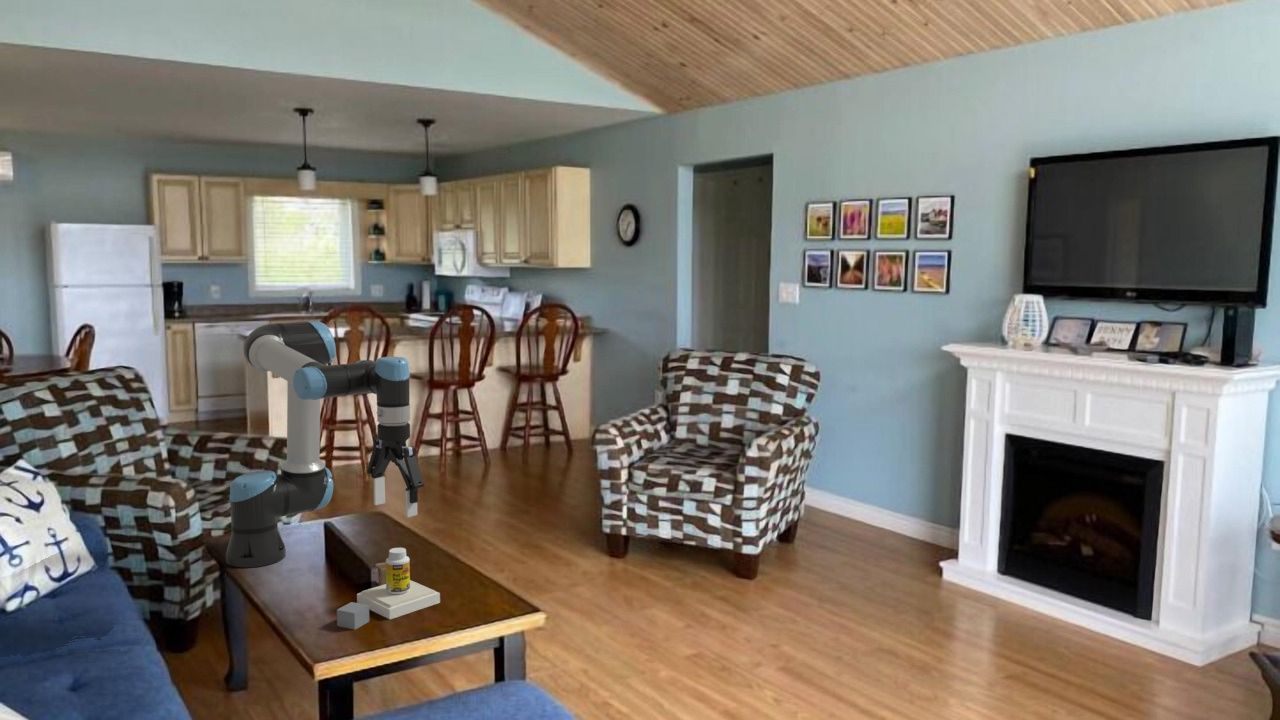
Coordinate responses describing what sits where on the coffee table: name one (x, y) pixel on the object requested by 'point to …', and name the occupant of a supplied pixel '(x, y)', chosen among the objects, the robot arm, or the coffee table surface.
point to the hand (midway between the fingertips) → (395, 509)
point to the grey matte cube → (353, 615)
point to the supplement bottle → (397, 571)
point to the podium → (398, 600)
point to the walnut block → (381, 572)
